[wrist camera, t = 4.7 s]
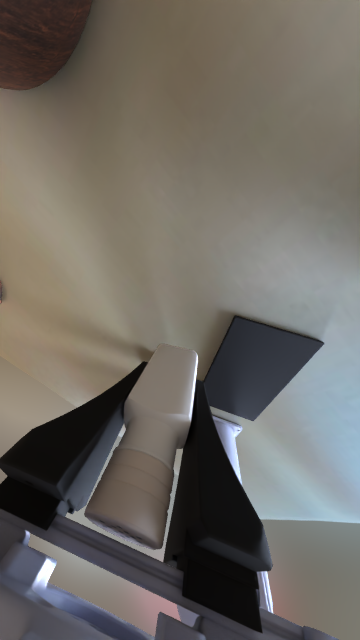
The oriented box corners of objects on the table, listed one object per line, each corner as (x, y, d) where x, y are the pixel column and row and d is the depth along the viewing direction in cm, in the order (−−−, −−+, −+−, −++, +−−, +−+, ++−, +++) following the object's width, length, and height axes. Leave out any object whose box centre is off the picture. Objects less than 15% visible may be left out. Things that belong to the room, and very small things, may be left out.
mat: (252, 417, 24) (253, 421, 24) (195, 397, 25) (195, 400, 25) (321, 340, 16) (324, 343, 16) (234, 315, 17) (235, 316, 17)
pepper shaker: (159, 339, 13) (60, 495, 4) (199, 349, 12) (179, 545, 4) (157, 369, 15) (83, 523, 6) (192, 379, 14) (167, 560, 6)
